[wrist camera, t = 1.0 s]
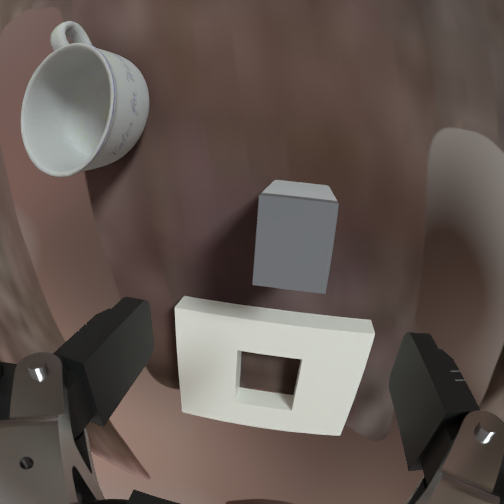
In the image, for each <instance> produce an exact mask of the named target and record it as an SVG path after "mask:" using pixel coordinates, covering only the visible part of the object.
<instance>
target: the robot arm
mask: <svg viewBox="0 0 504 504" xmlns="http://www.w3.org/2000/svg"><path fill="white" fill-rule="evenodd" d="M153 344H154V342H153V332H152V322H151V311H150V305H149V302H148V301H146V300H141V299H135V298H130V297H124V298H123V299H122V300H121V301H119V302H118V303H117V304H116V305H115V306H114V307H113V308H112V309H107V310H105V311H103V312H101V313H98V314H96V315H95V316H94V317H93V318H92V319H91V320H90V321H89V322H87V325H84V326H83V327H82V328H81V329H80V330H79V332H78V331H77V332H76V333H75V334H74V335H73V336H72V337H71V338H70V339H69V340H68V341H66V342H65V343H64V344H63V345H62V346H61V347H60V348H59V349H58V350H57V351H56V352H55V353H53V354H52V353H47V352H38V353H34V354H30V355H28V356H26V357H24V358H23V359H22V360H21V361H19V363H18V364H12V363H5V362H1V361H0V504H179V503H175V502H172V501H168V500H165V499H161V498H158V497H155V496H152V495H149V494H146V493H143V492H140V491H136V490H133V492H132V494H131V496H130V498H129V500H124V499H105V498H104V496H103V494H102V491H101V489H100V487H99V484H98V481H97V477H96V473H95V469H94V464H93V459H92V455H91V450H90V445H89V439H88V434H87V431H86V428H85V427H86V426H87V424H88V423H89V422H93V423H95V424H98V425H101V426H103V427H104V425H105V424H106V422H107V421H108V419H109V418H110V416H111V415H112V413H113V412H114V411H115V409H116V408H117V406H118V405H119V403H120V402H121V400H122V398H123V397H124V396H125V394H126V393H127V391H128V390H129V388H130V387H131V386H132V384H133V383H134V381H135V380H136V378H137V377H138V375H139V374H140V373H141V371H142V370H143V368H144V367H145V365H146V364H147V363H148V361H149V360H150V358H151V355H152V352H153ZM463 380H464V378H463V376H462V374H461V373H460V372H459V369H458V367H457V365H456V364H455V362H454V360H453V359H452V358H451V357H450V356H449V355H448V354H447V353H445V352H444V351H443V350H442V349H441V350H440V349H438V347H437V345H436V344H435V342H434V340H433V338H432V336H431V335H430V334H428V333H409V332H408V333H406V334H405V336H404V337H403V340H402V343H401V346H400V349H399V352H398V355H397V358H396V360H395V363H394V366H393V369H392V371H391V375H390V381H389V389H390V394H391V398H392V402H393V405H394V409H395V413H396V417H397V421H398V425H399V429H400V434H401V438H402V442H403V447H404V451H405V456H406V461H407V465H408V470H409V471H415V470H423V472H424V477H423V478H422V480H421V481H420V482H419V484H418V486H417V487H416V489H415V490H414V492H413V493H412V495H411V497H410V498H409V500H408V501H407V503H406V504H504V422H503V421H502V420H501V419H500V418H499V417H498V416H496V415H495V414H493V413H491V412H488V411H483V410H480V409H479V407H478V405H477V403H476V401H475V399H474V397H473V395H472V393H471V391H470V389H469V387H468V385H467V384H466V382H465V381H463Z"/></svg>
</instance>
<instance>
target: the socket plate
mask: <svg viewBox="0 0 504 504" xmlns="http://www.w3.org/2000/svg"><path fill="white" fill-rule="evenodd" d="M175 326H176V344H177V358H178V371H179V383H180V394H181V405H182V412H184V413H188V414H193V415H197V416H202V417H206V418H211V419H216V420H221V421H226V422H231V423H237V424H242V425H248V426H255V427H261V428H268V429H275V430H283V431H291V432H300V433H311V434H323V435H338V436H340V435H341V432H342V430H343V427H344V424H345V422H346V419H347V417H348V414H349V411H350V409H351V406H352V403H353V401H354V398H355V395H356V392H357V389H358V386H359V384H360V381H361V378H362V375H363V372H364V369H365V365H366V362H367V359H368V356H369V353H370V349H371V346H372V343H373V339H374V336H375V332H374V329H373V326H372V322H371V320H366V319H356V318H346V317H336V316H327V315H318V314H309V313H301V312H292V311H284V310H277V309H269V308H262V307H254V306H247V305H240V304H233V303H226V302H220V301H213V300H207V299H200V298H194V297H188V296H184V297H183V298H182V299H181V300H180V301H179V303H178V304H177V305H176V306H175ZM242 351H244V352H251V353H258V354H264V355H272V356H279V357H287V358H295V359H300V364H299V370H298V375H297V380H296V385H295V390H294V394H293V395H289V394H281V393H273V392H265V391H259V390H253V389H247V388H241V387H239V384H240V368H241V352H242Z"/></svg>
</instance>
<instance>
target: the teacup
mask: <svg viewBox="0 0 504 504" xmlns="http://www.w3.org/2000/svg"><path fill="white" fill-rule="evenodd" d="M65 34H66V35H67V36H69V37H70V38H71V39H72V41H73V42H74V43H73V44H69V43H68V41H67V40H66V35H65ZM50 41H51V46H52V48H53V50H54V52H53V53H51V54H50V55H49V56H48V57H47V58H46V59H45V60H44V61H43V62H42V63H41V64H40V66H39V67H38V68H37V70H36V71H35V72H34V74H33V76H32V77H31V79H30V82H29V84H28V86H27V89H26V92H25V96H24V99H23V104H22V110H21V133H22V139H23V142H24V145H25V148H26V151H27V153H28V155H29V157H30V159H31V160H32V162H33V163H34V164H35V165H36V167H37V168H39V169H40V170H41V171H42V172H44V173H46V174H48V175H50V176H56V177H67V176H70V175H74V174H76V173H78V172H82V171H87V170H91V169H95V168H99V167H102V166H105V165H108V164H111V163H113V162H115V161H117V160H118V159H120V158H121V157H123V156H124V155H125V154H126V153H128V152H129V151H130V150H131V149H132V147H133V146H134V145H135V144H136V142H137V141H138V139H139V138H140V136H141V134H142V132H143V130H144V127H145V125H146V121H147V118H148V113H149V93H148V88H147V85H146V82H145V79H144V77H143V75H142V74H141V72H140V71H139V69H138V68H137V67H136V66H135V65H134V64H132V63H131V62H130V61H128V60H127V59H125V58H123V57H121V56H119V55H116V54H114V53H111V52H108V51H104V50H101V49H97V48H95V47H94V46H92V44H91V42H90V40H89V38H88V36H87V34H86V32H85V31H84V30H83V28H82V27H81V26H80V25H79V24H77V23H75V22H71V21H68V22H64V23H61V24H60V25H59V26H57V27H56V28H55V29H54V31H53V32H52V34H51V40H50Z"/></svg>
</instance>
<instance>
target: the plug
mask: <svg viewBox="0 0 504 504" xmlns="http://www.w3.org/2000/svg"><path fill="white" fill-rule="evenodd" d="M338 206H339V203H338V202H337V200H336V198H335V196H334V195H333V193H332V191H331V189H330V188H329V186H326V185H318V184H309V183H300V182H291V181H281V180H274V181H273V182H272V183H271V184H270V185H269V186H268V187H267V188H266V189H265V190H264V191H263V192H262V193H261V194H260V195H259V203H258V217H257V230H256V244H255V257H254V270H253V284H252V285H257V286H265V287H272V288H280V289H289V290H297V291H305V292H314V293H322V294H325V293H326V287H327V281H328V275H329V269H330V263H331V256H332V250H333V243H334V236H335V229H336V221H337V214H338Z"/></svg>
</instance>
